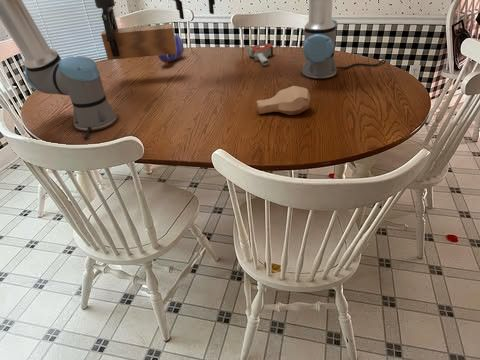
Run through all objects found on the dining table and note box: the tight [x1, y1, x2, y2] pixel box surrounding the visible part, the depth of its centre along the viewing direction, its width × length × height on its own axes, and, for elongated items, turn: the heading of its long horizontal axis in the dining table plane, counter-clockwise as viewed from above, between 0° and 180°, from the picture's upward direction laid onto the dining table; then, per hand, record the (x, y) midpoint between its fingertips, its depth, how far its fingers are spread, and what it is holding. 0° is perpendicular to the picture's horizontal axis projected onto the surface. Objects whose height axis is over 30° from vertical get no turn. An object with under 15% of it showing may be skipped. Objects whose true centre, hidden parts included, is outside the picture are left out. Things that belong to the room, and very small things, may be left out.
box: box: [100, 23, 177, 61], centre depth 156 cm, size 30×8×11 cm, turn 98°
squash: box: [255, 85, 312, 116], centre depth 130 cm, size 11×20×9 cm, turn 92°
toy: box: [157, 33, 185, 67], centre depth 184 cm, size 10×17×25 cm
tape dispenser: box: [247, 43, 274, 67], centre depth 182 cm, size 18×5×20 cm
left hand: (117, 53), depth 157 cm, fingers closed on box, 8 cm apart
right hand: (197, 16), depth 148 cm, fingers open, 13 cm apart
